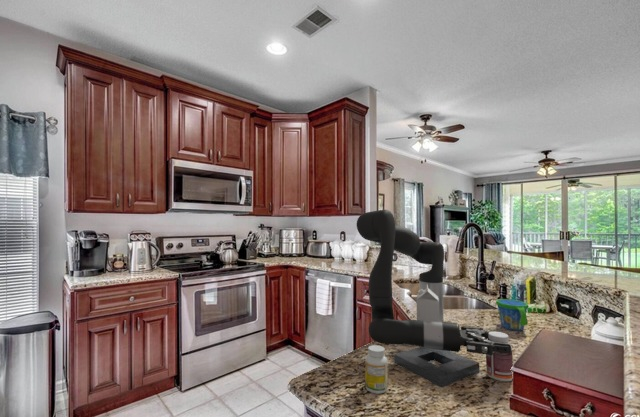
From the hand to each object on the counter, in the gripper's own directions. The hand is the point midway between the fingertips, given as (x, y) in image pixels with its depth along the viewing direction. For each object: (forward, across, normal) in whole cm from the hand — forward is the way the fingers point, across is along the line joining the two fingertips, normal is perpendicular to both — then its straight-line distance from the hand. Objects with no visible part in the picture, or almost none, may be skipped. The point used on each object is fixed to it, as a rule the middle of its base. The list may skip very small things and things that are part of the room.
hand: (506, 342), depth 82 cm
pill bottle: (-2, 0, +9) cm, 9 cm away
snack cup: (+12, +47, +9) cm, 49 cm away
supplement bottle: (-32, -17, +9) cm, 37 cm away
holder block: (-18, 0, +9) cm, 20 cm away
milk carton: (-20, +20, +9) cm, 29 cm away
